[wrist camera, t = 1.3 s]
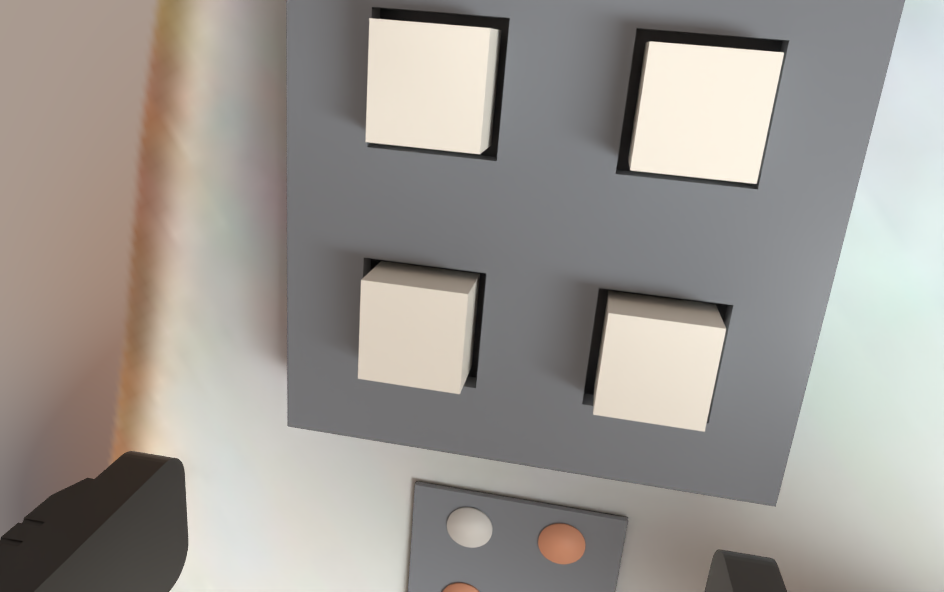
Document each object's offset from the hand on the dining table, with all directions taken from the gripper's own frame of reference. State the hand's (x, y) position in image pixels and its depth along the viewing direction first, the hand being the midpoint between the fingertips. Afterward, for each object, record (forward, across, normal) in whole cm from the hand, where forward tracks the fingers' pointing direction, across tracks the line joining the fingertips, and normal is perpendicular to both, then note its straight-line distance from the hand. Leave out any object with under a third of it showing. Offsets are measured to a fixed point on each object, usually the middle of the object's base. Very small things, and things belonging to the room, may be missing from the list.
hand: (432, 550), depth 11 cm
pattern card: (+21, -1, +17) cm, 27 cm away
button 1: (+18, -5, +3) cm, 19 cm away
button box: (+21, -1, -1) cm, 21 cm away
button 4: (+18, +4, -6) cm, 20 cm away
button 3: (+18, -5, -6) cm, 20 cm away
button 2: (+18, +4, +3) cm, 19 cm away
